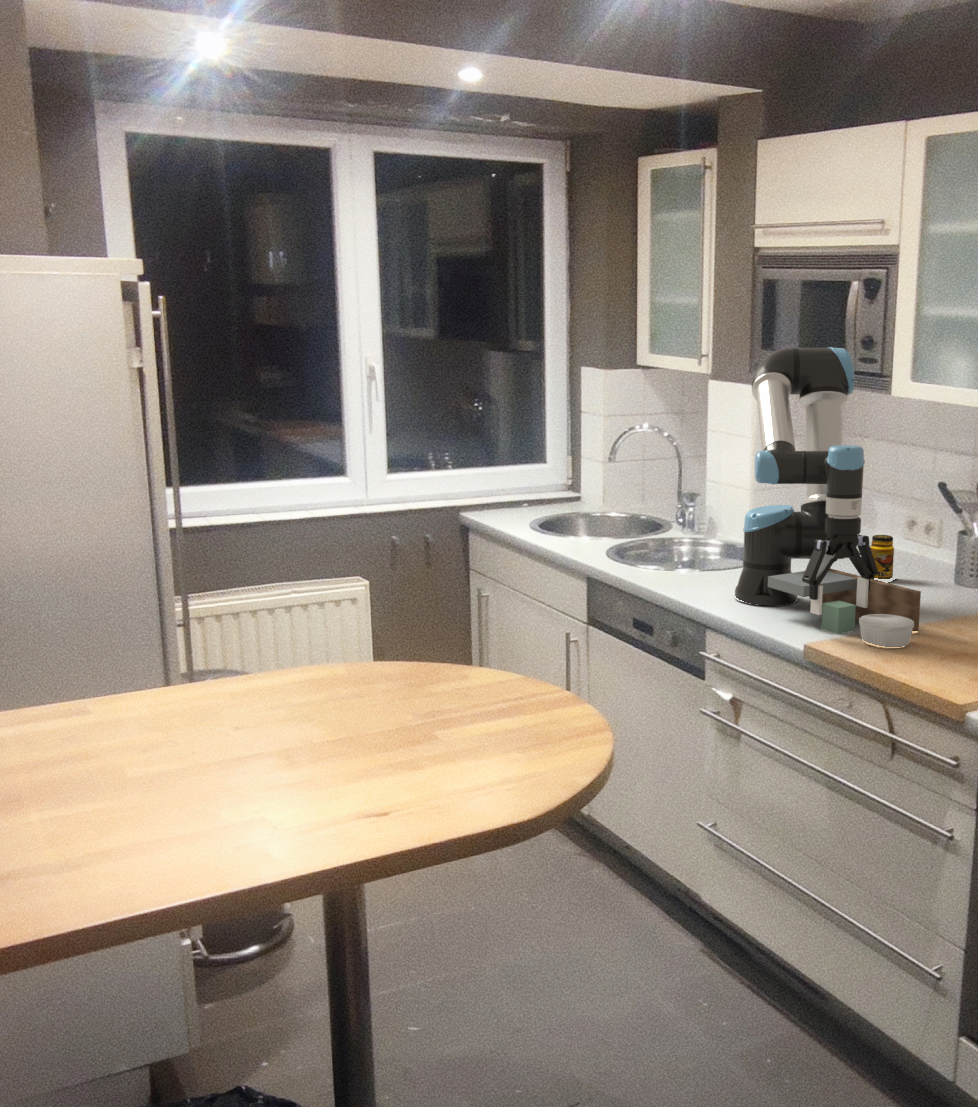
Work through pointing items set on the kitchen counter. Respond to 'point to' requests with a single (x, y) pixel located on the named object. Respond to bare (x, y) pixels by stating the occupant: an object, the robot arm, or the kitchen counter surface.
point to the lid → (797, 587)
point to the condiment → (883, 555)
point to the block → (838, 617)
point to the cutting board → (881, 600)
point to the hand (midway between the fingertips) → (839, 610)
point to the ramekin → (886, 629)
